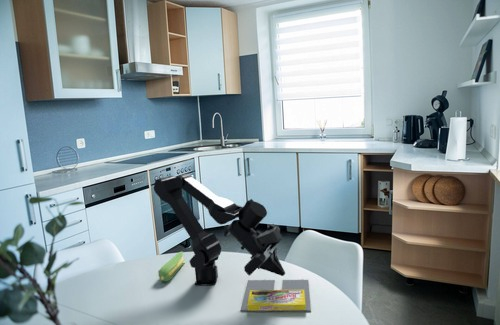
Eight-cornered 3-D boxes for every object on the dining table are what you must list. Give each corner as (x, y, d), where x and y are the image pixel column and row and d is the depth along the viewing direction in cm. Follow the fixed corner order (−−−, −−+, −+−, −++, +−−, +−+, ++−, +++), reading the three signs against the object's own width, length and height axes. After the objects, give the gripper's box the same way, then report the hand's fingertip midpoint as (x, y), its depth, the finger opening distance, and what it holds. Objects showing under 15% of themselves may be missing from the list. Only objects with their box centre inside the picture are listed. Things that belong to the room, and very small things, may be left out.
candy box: (304, 287, 108) (306, 304, 100) (304, 294, 108) (306, 311, 100) (249, 289, 110) (246, 305, 102) (250, 295, 110) (247, 312, 102)
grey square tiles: (240, 311, 103) (240, 310, 103) (248, 281, 120) (247, 280, 120) (310, 311, 101) (310, 310, 100) (308, 280, 118) (308, 279, 118)
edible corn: (152, 272, 122) (164, 269, 121) (177, 250, 141) (187, 247, 140) (158, 287, 122) (170, 283, 121) (181, 262, 142) (192, 259, 140)
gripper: (251, 229, 99) (293, 272, 97) (273, 210, 116) (309, 245, 114) (227, 255, 103) (267, 296, 101) (251, 232, 120) (286, 267, 118)
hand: (284, 274), depth 108 cm, fingers closed
